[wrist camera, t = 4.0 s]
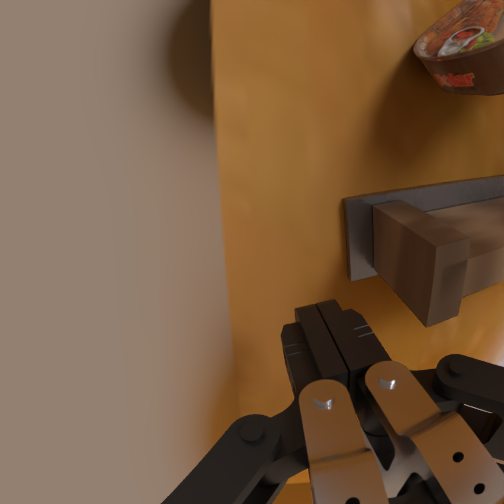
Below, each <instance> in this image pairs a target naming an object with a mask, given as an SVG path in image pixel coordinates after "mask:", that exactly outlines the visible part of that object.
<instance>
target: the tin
mask: <svg viewBox="0 0 504 504" xmlns="http://www.w3.org/2000/svg"><path fill="white" fill-rule="evenodd" d="M413 51H414V54H415V55H416V56H417V57H418V58H419V59H420V60H421V61H422V63H423V64H424V66H425V67H426V69H427V70H428V72H429V73H430V75H431V76H432V78H433V79H434V81H435V82H436V84H437V85H438V86H439V87H440V88H441V89H442V90H444V91H445V92H450V93H455V94H465V95H487V96H493V95H500V94H504V0H464V1H462V2H461V3H460V4H459V5H457V6H456V7H455V8H454V9H452V10H451V11H450V12H449V13H447V14H446V15H445V16H444V17H442V18H441V19H440V20H439V21H437V22H436V23H435V24H434V25H433V26H431V27H430V28H429V29H428V30H427V31H426V32H424V33H423V34H422V35H421V36H420V37H419V38H418V40H417V41H416V43H415V45H414V49H413Z"/></svg>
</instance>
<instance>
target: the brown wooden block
mask: <svg viewBox="0 0 504 504" xmlns="http://www.w3.org/2000/svg"><path fill="white" fill-rule="evenodd" d="M372 207H373V230H374V270H375V271H376V272H377V273H378V274H379V276H380V277H381V278H382V279H383V280H384V281H385V282H386V283H387V284H388V285H389V286H390V287H391V289H392V290H393V291H394V292H395V293H396V294H397V295H398V296H399V297H400V299H401V300H402V301H403V302H404V303H405V304H406V305H407V306H408V308H409V309H410V310H411V311H412V312H413V313H414V314H415V316H416V317H417V318H418V319H419V320H420V321H421V322H422V324H423V325H424V326H425V327H426V328H427V327H429V326H432V325H435V324H437V323H440V322H442V321H445V320H447V319H450V318H452V317H455V316H457V315H458V312H459V308H460V303H461V298H463V297H465V296H468V295H470V294H473V293H475V292H478V291H480V290H482V289H485V288H487V287H489V286H492V285H494V284H496V283H499V282H501V281H503V280H504V197H501V198H496V199H491V200H485V201H480V202H475V203H470V204H465V205H460V206H455V207H449V208H444V209H439V210H434V211H429V212H424V211H422V210H420V209H418V208H416V207H415V206H413V205H411V204H409V203H407V202H405V201H403V200H401V201H395V202H389V203H384V204H378V205H372Z"/></svg>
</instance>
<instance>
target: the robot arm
mask: <svg viewBox="0 0 504 504" xmlns="http://www.w3.org/2000/svg"><path fill="white" fill-rule="evenodd" d="M295 319H296V323H291V324H287V325H284V326H283V330H282V333H281V340H282V346H283V352H284V359H285V365H286V368H287V372H288V375H289V380H290V383H291V387H292V391H293V394H294V398H295V399H294V401H293V402H292V404H291V405H290V406H289V407H288V408H287V409H286V410H284V411H283V412H281V413H279V414H277V415H275V416H273V417H271V418H270V417H268V416H265V415H259V414H253V415H247V416H244V417H241V418H240V419H238V420H236V421H235V422H234V423H233V424H232V425H231V426H230V427H229V428H228V430H227V431H226V432H225V433H224V435H223V436H222V437H221V438H220V439H219V440H218V442H217V443H216V444H215V445H214V446H213V448H212V449H211V450H210V451H209V452H208V453H207V455H206V456H205V457H204V458H203V459H202V460H201V461H200V462H199V463H198V465H197V466H196V467H195V468H194V469H193V470H192V471H191V472H190V474H189V475H188V476H187V477H186V478H185V479H184V480H183V481H182V482H181V483H180V484H179V485H178V487H177V488H176V489H175V490H174V491H173V492H172V493H171V494H170V495H169V496H168V497H167V498H166V499H165V500H164V501H163V502H162V503H161V504H272V502H273V501H274V500H275V498H276V496H277V495H278V494H279V492H280V491H281V489H282V488H283V486H284V485H285V483H286V482H287V480H288V478H290V477H292V476H294V475H296V474H298V473H299V472H301V471H303V470H305V469H307V468H308V473H309V479H310V485H311V492H312V500H313V504H504V465H503V464H500V463H497V462H495V461H494V459H493V458H496V459H499V460H503V461H504V367H501V366H498V365H494V364H491V363H488V362H484V361H481V360H477V359H474V358H471V357H467V356H464V355H460V354H451V355H448V356H445V357H443V358H442V359H441V360H440V361H439V363H438V364H437V367H436V369H428V370H419V371H412V370H409V369H408V368H407V367H406V366H404V365H403V364H401V363H399V362H395V361H392V360H391V358H390V357H389V355H388V354H387V352H386V351H385V349H384V348H383V346H382V345H381V343H380V342H379V340H378V339H377V337H376V336H375V334H374V333H373V331H372V330H371V328H370V327H369V326H368V324H367V322H366V321H365V319H364V318H363V316H362V315H361V314H359V313H357V312H356V311H354V310H352V309H348V310H344V311H342V309H341V308H340V306H339V304H338V303H337V301H336V300H335V299H332V300H328V301H324V302H320V303H316V304H312V305H308V306H303V307H299V308H295ZM464 404H466V405H469V406H473V407H476V408H479V409H482V410H485V411H488V412H492V413H488V412H484V411H481V410H478V409H475V408H472V407H469V406H466V405H464ZM356 415H357V417H358V419H359V423H358V420H357V417H356ZM492 457H493V458H492Z"/></svg>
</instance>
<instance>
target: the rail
mask: <svg viewBox="0 0 504 504" xmlns="http://www.w3.org/2000/svg"><path fill="white" fill-rule="evenodd" d="M501 197H504V175H498V176H490V177H482V178H474V179H466V180H458V181H451V182H444V183H437V184H430V185H423V186H416V187H409V188H403V189H396V190H390V191H384V192H378V193H372V194H366V195H360V196H354V197H348V198H343V203H344V214H345V227H346V243H347V261H348V278H349V280H350V281H351V282H352V281H356V280H360V279H364V278H368V277H372V276H376V275H379V274H378V273H377V272H376V271H375V270H374V230H373V207H372V205H378V204H384V203H389V202H395V201H401V200H403V201H405V202H407V203H409V204H411V205H413V206H415V207H416V208H418V209H420V210H422V211H424V212H429V211H434V210H439V209H444V208H449V207H455V206H460V205H465V204H470V203H475V202H480V201H485V200H491V199H496V198H501Z"/></svg>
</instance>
